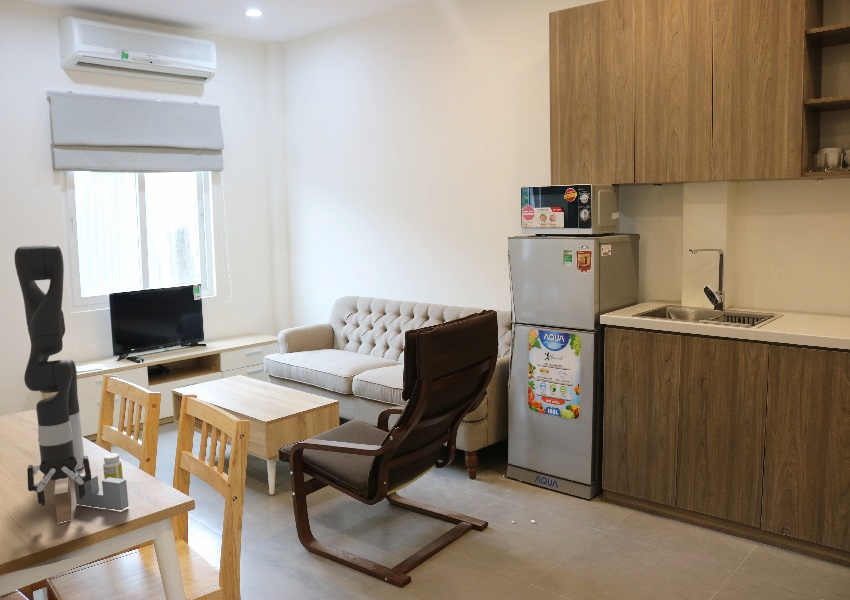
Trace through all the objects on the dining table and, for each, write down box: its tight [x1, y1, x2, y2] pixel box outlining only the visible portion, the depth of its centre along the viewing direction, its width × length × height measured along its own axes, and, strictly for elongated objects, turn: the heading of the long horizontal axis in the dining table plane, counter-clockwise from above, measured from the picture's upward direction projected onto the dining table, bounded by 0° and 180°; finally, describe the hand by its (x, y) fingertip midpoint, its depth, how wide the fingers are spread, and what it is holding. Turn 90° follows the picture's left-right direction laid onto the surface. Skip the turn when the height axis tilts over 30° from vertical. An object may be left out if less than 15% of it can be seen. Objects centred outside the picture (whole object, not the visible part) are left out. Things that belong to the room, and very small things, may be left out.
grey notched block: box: [73, 473, 129, 510], centre depth 190 cm, size 15×2×8 cm, turn 71°
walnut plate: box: [54, 476, 72, 524], centre depth 188 cm, size 16×3×8 cm, turn 26°
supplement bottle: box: [102, 452, 124, 480], centre depth 205 cm, size 5×5×8 cm
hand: (62, 501), depth 182 cm, fingers open, 8 cm apart
